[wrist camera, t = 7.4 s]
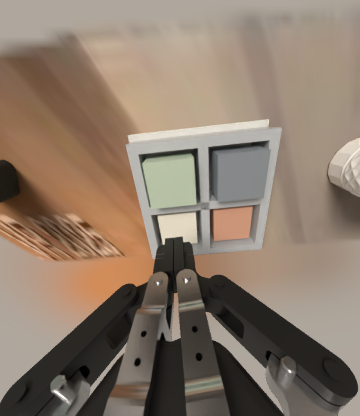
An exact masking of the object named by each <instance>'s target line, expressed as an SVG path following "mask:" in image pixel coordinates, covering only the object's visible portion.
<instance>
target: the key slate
mask: <svg viewBox="0 0 360 416" xmlns="http://www.w3.org/2000/svg"><path fill="white" fill-rule="evenodd" d="M270 153H271V149H268V148H264V147H261V146H257V145H251V146H242V147H233V148H224V149H214V150H211V185H212V192H213V194H214V196H215V198H216V200H217V202H225V201H235V200H245V199H255V198H264V193H265V186H266V180H267V173H268V166H269V160H270Z"/></svg>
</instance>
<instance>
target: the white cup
mask: <svg viewBox="0 0 360 416" xmlns="http://www.w3.org/2000/svg"><path fill="white" fill-rule="evenodd" d="M328 176H329V179H330V182H331V183H333V184H335V185H336V186H338V187H340V188H342V189H345V190H347V191H349V192H350V193H351V194H353V195H355V196H358V197H360V138H357V139H355V140H353V141H350V142H348V143H347V144H346V145H344V146H343V147H342V148H341V149H340V150H339V151H337V153H336V154H335V156H334V157H333V159H332V160H331V162H330V164H329V169H328Z"/></svg>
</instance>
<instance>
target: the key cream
mask: <svg viewBox="0 0 360 416" xmlns="http://www.w3.org/2000/svg"><path fill="white" fill-rule="evenodd" d="M157 217H158V222H159V228H160V233H161V238H162V243H163V245H165V238H173V237H181V236H183V242H190V243H191V244H192V243H198V240H197V224H196V211H187V212H177V213H167V214H158V216H157Z"/></svg>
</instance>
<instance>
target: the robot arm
mask: <svg viewBox="0 0 360 416" xmlns="http://www.w3.org/2000/svg"><path fill="white" fill-rule="evenodd" d="M177 292H178V303H179V307H178V311H179V323H180V335H181V338H180V339H177V340H175V341H172V336H171V335H172V321H173V309H174V293H177ZM206 312H210V313H211V314H212V315H213V317H215V319H216V320H217V321H218V322H219V323H220V324H221V325H222V326H223V327H224V328H225V329H226V330H227V331H228V332H229V333H230V334H231V335H232V336H234V337H235V339H236V340H237V341H239V343H240V344H242V345H243V346H244V347H245V348H246V349H247V350H248V351H249V352H250V353H251V354H252V355H253V356H254V357H255V358H256V359H257V360H258V361H259V362H260V363H261V364H262V365H263V366H264V367H265V368H266V372H265V375H266V380H267V384H268V386H269V388H270V390H271V391H272V393H273V394H274V395H275V397H276V398H277V399H278V401H279V403H280V405H281V407H282V410H283V413H284V414H283V413H282V412H281V411H280V410H279V408H278V407H277V406H276V405H275V404H274V403H273V401H272V400H271V399H270V398H269V397H268V396H267V394H266V393H265V392H264V391H263V390H262V389H261V387H260V386H259V385H258V384H257V383H256V382H255V381H254V379H253V378H252V377H251V376H250V375H249V374H248V373H247V371H246V370H245V369H244V368H243V367H242V366H241V364H240V363H239V362H238V361H237V360H236V359H235V358H234V356H233V355H232V354H231V353H230V352H229V351H228V350H227V349H226V348H225V347H224V346H222V345H221V344H220V343H218V342H216V341H213V340H212V337H211V333H210V329H209V325H208V320H207V316H206ZM126 343H127V346H126V349H125V353H124V354H123V355H122V356H121V357H120V358H119V359H118V360H117V361H116V363H115V364H114V365H113V366H112V368H111V369H110V370H109V372H108V373H107V374H106V376H105V377H104V378H103V380H102V381H101V382H100V384H99V385H98V386H97V387H96V389H95V390H94V391H93V393H92V394H91V395H90V397H89V393H90V387H91V385H92V384H93V383H94V382H95V381H96V380H97V378H98V377H99V376H100V375H101V373H102V372H103V371H104V370H105V369H106V367H107V366H108V365H109V364H110V362H111V361H112V360H113V359H114V358H115V356H116V355H117V354H118V353H119V352H120V350H121V349H122V348H123V347H124V345H125V344H126ZM357 392H358V384H357V381H356V378H355V376H354V374H353V373H352V371H351V370H350V368H349V367H348V366H347V365H346V364H345V363H344V362H343V361H342V360H341V359H340V358H339V357H337V356H336V355H335V354H333V353H332V352H330V351H329V350H327V349H326V348H325V347H323V346H322V345H321V344H319V343H318V342H316V341H315V340H313V339H312V338H311V337H309V336H308V335H307V334H305V333H304V332H302V331H301V330H300V329H298V328H296V327H295V326H294V325H293V324H291V323H290V322H288V321H287V320H286V319H284V318H283V317H281V316H280V315H279V314H277V313H276V312H274V311H273V310H271V309H270V308H269V307H267V306H266V305H265V304H263V303H262V302H260V301H259V300H257V299H256V298H255V297H253V296H252V295H250V294H249V293H247V292H246V291H245V290H243V289H242V288H241V287H239V286H238V285H236V284H235V283H234V282H232V281H231V280H229V279H228V278H227V277H225V276H223V275H214V276H212V277H211V278H210V279H209V278H204V277H201V276H200V275H198V273H197V272H196V269H195V261H194V254H193V246H192V244H191V243H190V242H183V236H181V237H173V238H165V245H159V247H158V248H157V251H156V257H155V264H154V270H153V275H152V276H151V277H150V278H149V280H148V282H147V283H145V284H143V285H140V286H138V287H136V286H135V285H134V284H125V285H123V286H122V287H120V288H119V289H118V290H117V291H116V292H115V293H114V294H113V295H111V296H110V298H108V299H107V300H106V301H105V302H104V303H103V304H102V305H100V306H99V307H98V308H97V309H96V310H95V311H94V312H93V313H92V314H91V315H89V316H88V317H87V318H86V319H85V320H84V321H83V322H82V323H81V324H80V325H78V326H77V327H76V328H75V329H74V330H73V331H72V332H71V333H70V334H68V335H67V336H66V337H65V338H64V339H63V340H62V341H61V342H60V343H59V344H58V345H56V346H55V347H54V348H53V349H52V350H51V351H50V352H49V353H48V354H47V355H45V356H44V357H43V358H42V359H41V360H40V361H39V362H38V363H37V364H35V365H34V366H33V367H32V368H31V369H30V370H29V371H28V372H27V373H26V374H24V375H23V376H22V377H21V378H20V379H19V380H18V381H17V382H16V383H15V384H14V385H13V386H12V387H11V388H10V389H9V390H8V392H7V393H6V394H5V396H4V397H3V399H2V401H1V403H0V416H338V412H339V411H340V410H341V409H342V408H343V407H344V406H345V405H346V404H347V403H348V402H349V401H350V400H351V399H352V398H353V397H354V396H355V395H356V394H357ZM88 397H89V398H88Z"/></svg>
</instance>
